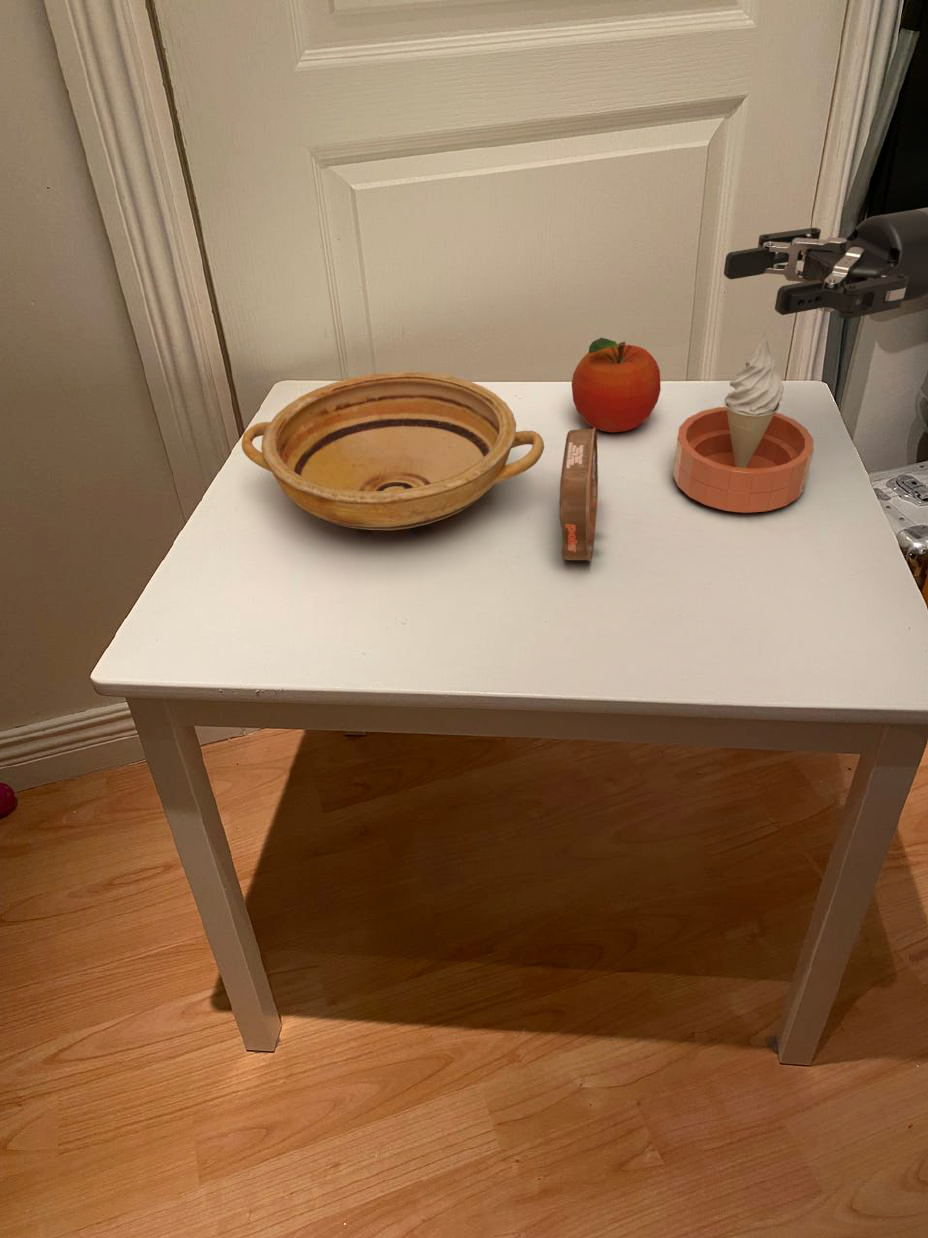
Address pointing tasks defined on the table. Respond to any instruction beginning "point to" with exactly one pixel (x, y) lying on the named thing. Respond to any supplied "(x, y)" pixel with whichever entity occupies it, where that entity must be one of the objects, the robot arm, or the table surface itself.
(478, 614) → the table surface
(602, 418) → the fruit
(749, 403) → the ice cream cone
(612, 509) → the table surface
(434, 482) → the ceramic bowl
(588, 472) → the tin
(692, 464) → the pot
